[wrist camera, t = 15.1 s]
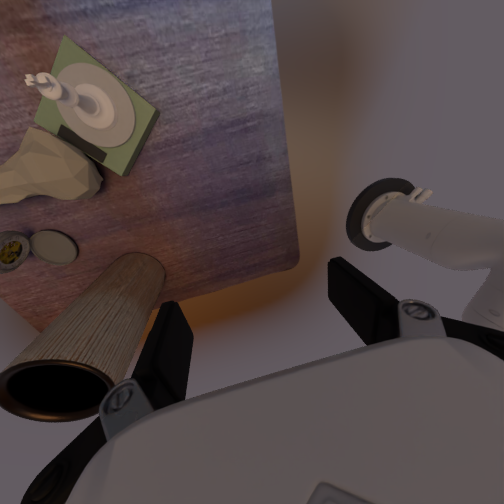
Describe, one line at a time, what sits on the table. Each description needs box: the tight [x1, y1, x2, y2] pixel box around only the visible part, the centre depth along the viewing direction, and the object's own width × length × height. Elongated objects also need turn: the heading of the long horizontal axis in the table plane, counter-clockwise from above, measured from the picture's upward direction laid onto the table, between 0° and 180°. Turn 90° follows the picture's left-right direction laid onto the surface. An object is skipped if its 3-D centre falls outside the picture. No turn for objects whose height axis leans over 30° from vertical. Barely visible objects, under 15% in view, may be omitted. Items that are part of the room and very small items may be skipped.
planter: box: [0, 253, 165, 422], centre depth 28 cm, size 10×10×23 cm
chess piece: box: [24, 73, 118, 131], centre depth 20 cm, size 5×5×10 cm
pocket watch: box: [0, 230, 78, 274], centre depth 29 cm, size 8×8×10 cm
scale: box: [34, 35, 160, 176], centre depth 26 cm, size 11×11×3 cm
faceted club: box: [0, 127, 103, 204], centre depth 26 cm, size 9×8×25 cm
